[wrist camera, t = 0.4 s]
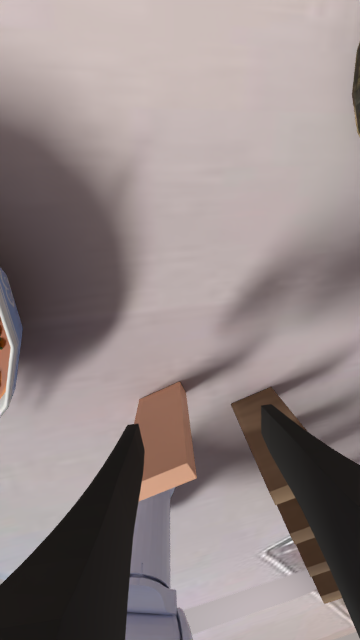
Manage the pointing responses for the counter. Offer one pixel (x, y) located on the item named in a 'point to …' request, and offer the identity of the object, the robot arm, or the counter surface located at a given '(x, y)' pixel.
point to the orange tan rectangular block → (165, 440)
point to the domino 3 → (312, 557)
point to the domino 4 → (327, 587)
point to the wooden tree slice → (357, 90)
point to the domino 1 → (251, 427)
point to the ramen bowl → (8, 342)
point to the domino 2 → (295, 521)
